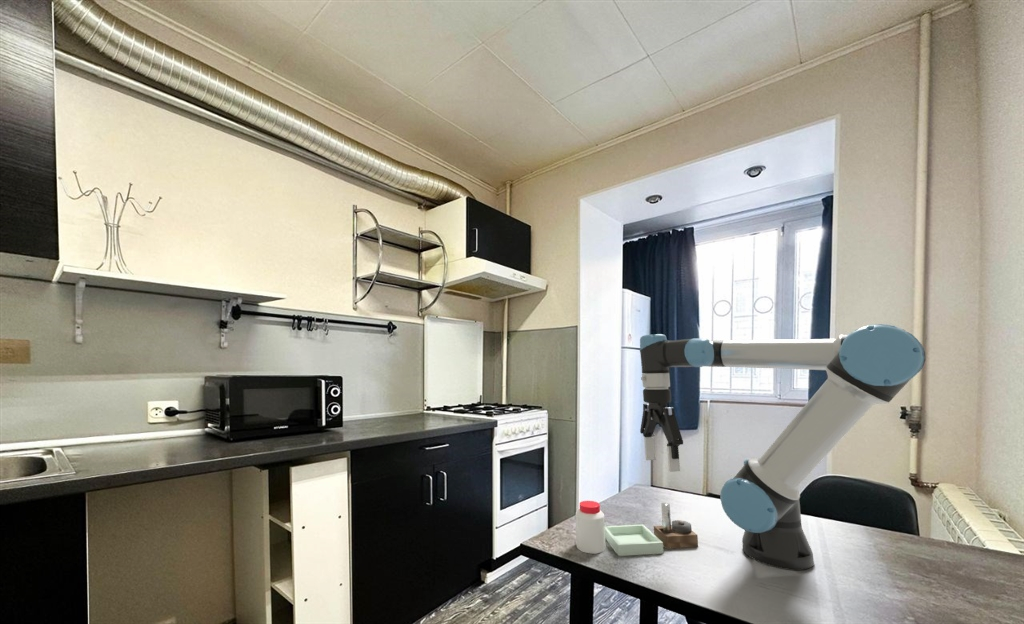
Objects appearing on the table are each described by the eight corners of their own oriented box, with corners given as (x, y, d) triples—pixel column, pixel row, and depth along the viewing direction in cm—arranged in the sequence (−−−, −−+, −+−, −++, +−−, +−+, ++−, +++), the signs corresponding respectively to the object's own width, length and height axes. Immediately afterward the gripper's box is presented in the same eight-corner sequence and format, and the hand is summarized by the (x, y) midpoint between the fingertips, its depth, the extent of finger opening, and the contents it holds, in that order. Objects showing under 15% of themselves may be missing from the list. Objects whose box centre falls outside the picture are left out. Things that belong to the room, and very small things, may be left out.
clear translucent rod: (672, 541, 110) (670, 503, 112) (671, 544, 108) (669, 505, 110) (663, 540, 111) (661, 502, 113) (663, 543, 109) (661, 504, 111)
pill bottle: (598, 556, 102) (596, 511, 104) (571, 548, 107) (570, 505, 108) (610, 545, 108) (608, 502, 110) (584, 538, 113) (583, 497, 114)
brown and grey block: (684, 535, 114) (683, 516, 115) (698, 546, 107) (696, 526, 108) (654, 537, 113) (653, 517, 114) (666, 548, 106) (664, 527, 107)
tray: (643, 533, 115) (643, 524, 116) (663, 553, 103) (662, 542, 104) (603, 536, 114) (603, 526, 114) (618, 556, 102) (618, 545, 103)
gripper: (626, 386, 127) (630, 456, 124) (665, 390, 102) (672, 477, 99) (648, 386, 128) (653, 455, 125) (693, 390, 103) (700, 475, 100)
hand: (662, 465), depth 112 cm, fingers open, 13 cm apart
